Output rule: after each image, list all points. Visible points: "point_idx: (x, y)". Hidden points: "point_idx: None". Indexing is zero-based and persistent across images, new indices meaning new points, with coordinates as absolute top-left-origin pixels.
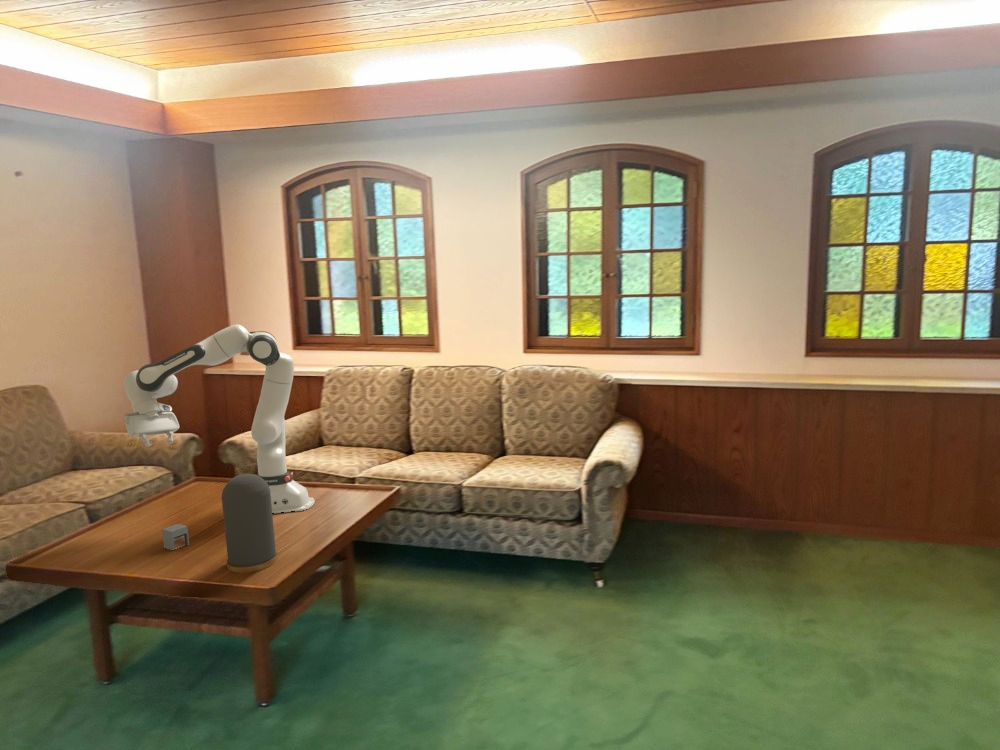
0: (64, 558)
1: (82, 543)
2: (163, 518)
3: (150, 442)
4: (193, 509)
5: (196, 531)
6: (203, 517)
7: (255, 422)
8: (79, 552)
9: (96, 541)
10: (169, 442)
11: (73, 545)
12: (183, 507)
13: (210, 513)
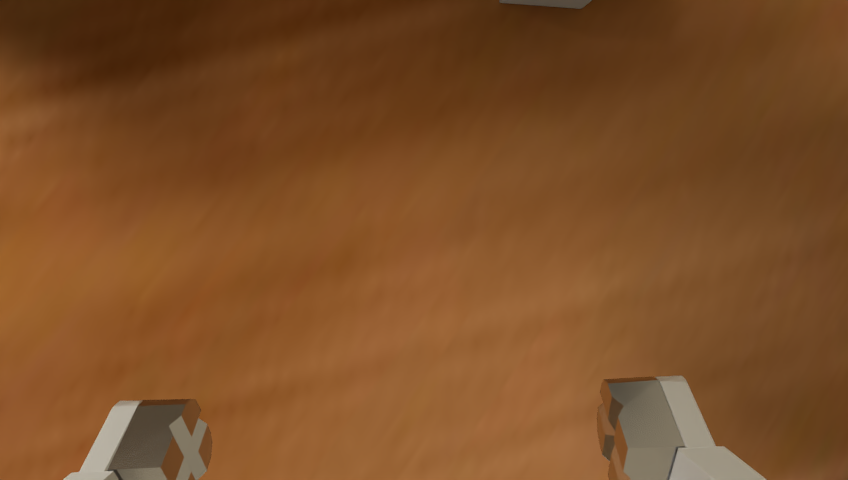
0: (820, 344)
1: None
2: (299, 399)
3: (640, 406)
4: (126, 373)
5: (359, 49)
6: (193, 201)
7: None
8: (755, 350)
9: None
10: (198, 416)
11: None
12: None
13: (129, 220)
